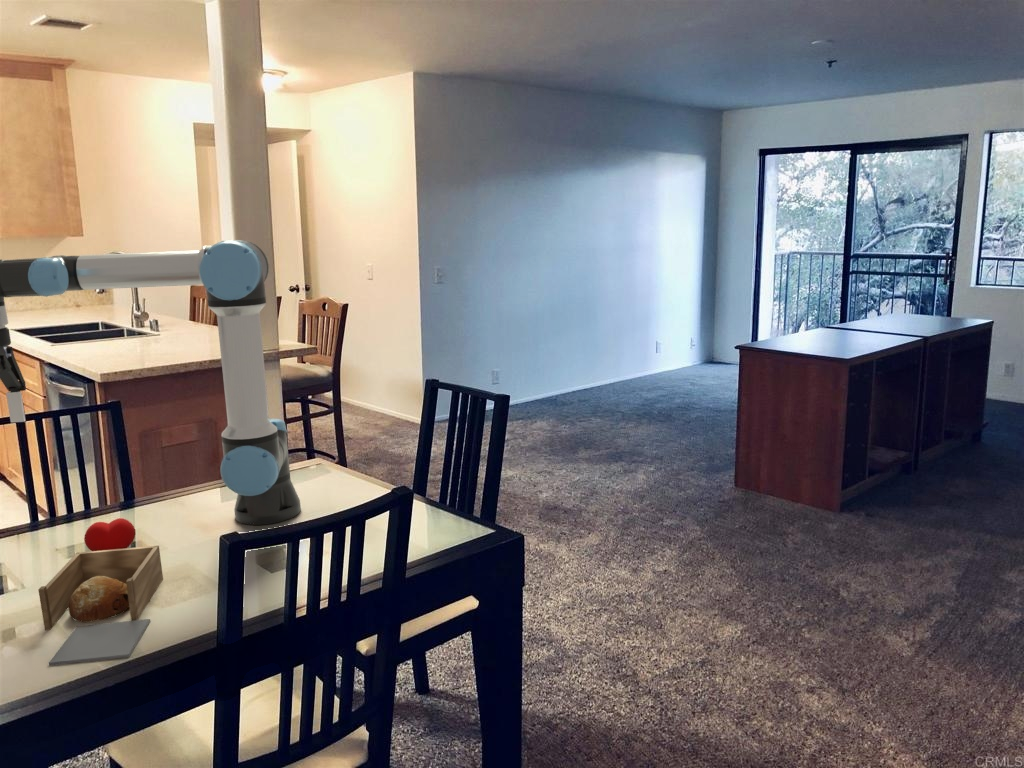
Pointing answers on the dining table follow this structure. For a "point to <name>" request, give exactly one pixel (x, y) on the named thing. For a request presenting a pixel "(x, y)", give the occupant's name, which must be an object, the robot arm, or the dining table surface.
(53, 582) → the box
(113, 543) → the red heart shape
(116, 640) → the slate board
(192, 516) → the dining table surface
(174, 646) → the dining table surface
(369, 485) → the dining table surface
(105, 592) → the bread roll
